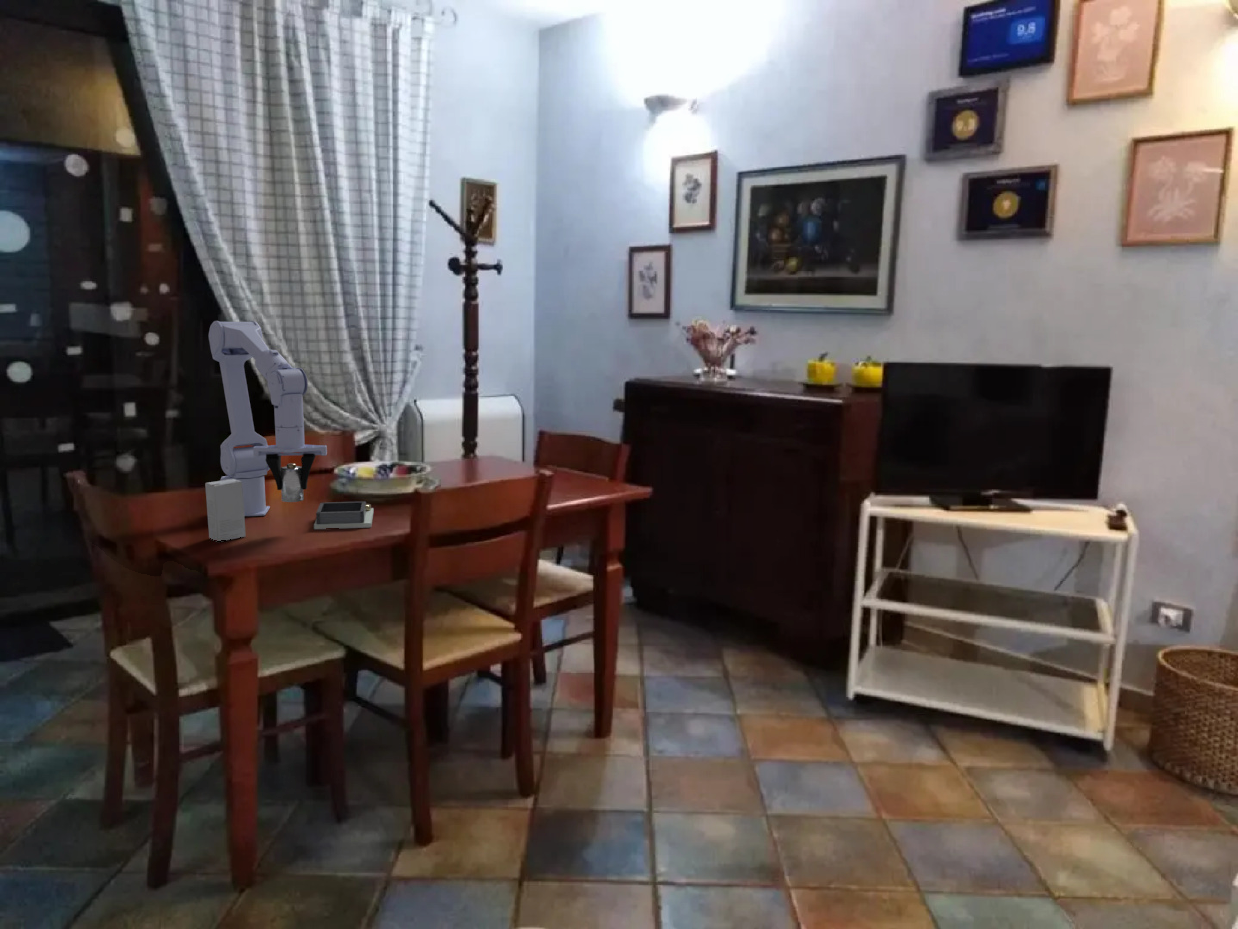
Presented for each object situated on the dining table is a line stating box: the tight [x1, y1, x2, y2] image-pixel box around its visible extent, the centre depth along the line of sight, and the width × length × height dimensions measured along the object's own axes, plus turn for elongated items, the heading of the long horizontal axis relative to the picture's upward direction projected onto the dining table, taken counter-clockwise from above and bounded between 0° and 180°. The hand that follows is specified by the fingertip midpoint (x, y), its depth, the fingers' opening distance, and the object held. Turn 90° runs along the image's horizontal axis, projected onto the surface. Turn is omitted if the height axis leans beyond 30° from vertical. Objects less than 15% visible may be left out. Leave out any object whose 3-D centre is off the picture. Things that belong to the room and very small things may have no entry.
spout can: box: [280, 462, 305, 503], centre depth 185 cm, size 4×6×8 cm
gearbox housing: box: [313, 501, 374, 530], centre depth 196 cm, size 12×14×4 cm
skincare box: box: [204, 479, 247, 542], centre depth 179 cm, size 6×4×12 cm
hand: (292, 488), depth 185 cm, fingers closed on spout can, 4 cm apart
